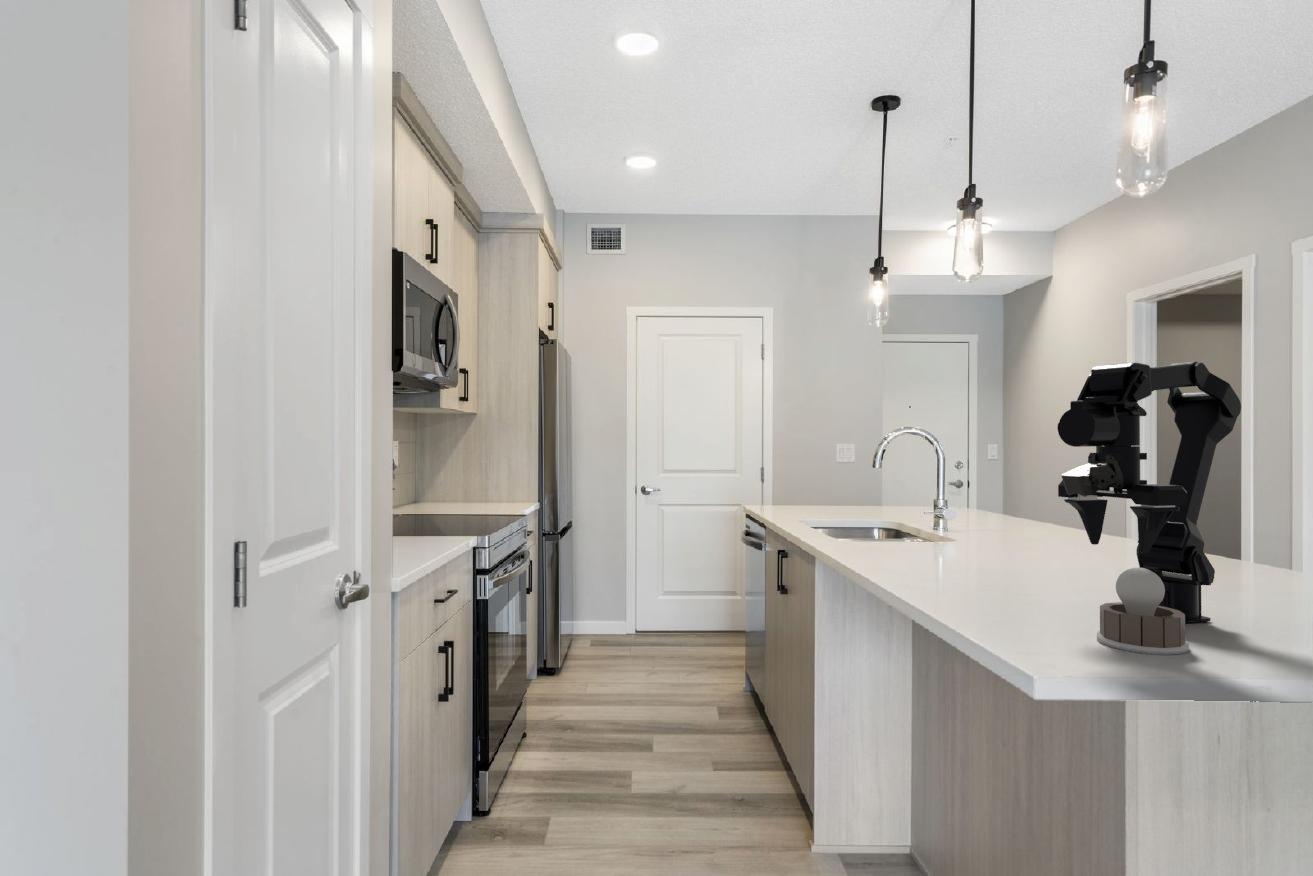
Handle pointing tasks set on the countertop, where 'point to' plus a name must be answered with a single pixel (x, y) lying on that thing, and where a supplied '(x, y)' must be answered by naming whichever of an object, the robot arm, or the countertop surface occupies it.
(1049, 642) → the countertop surface
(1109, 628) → the socket
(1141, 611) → the light bulb
